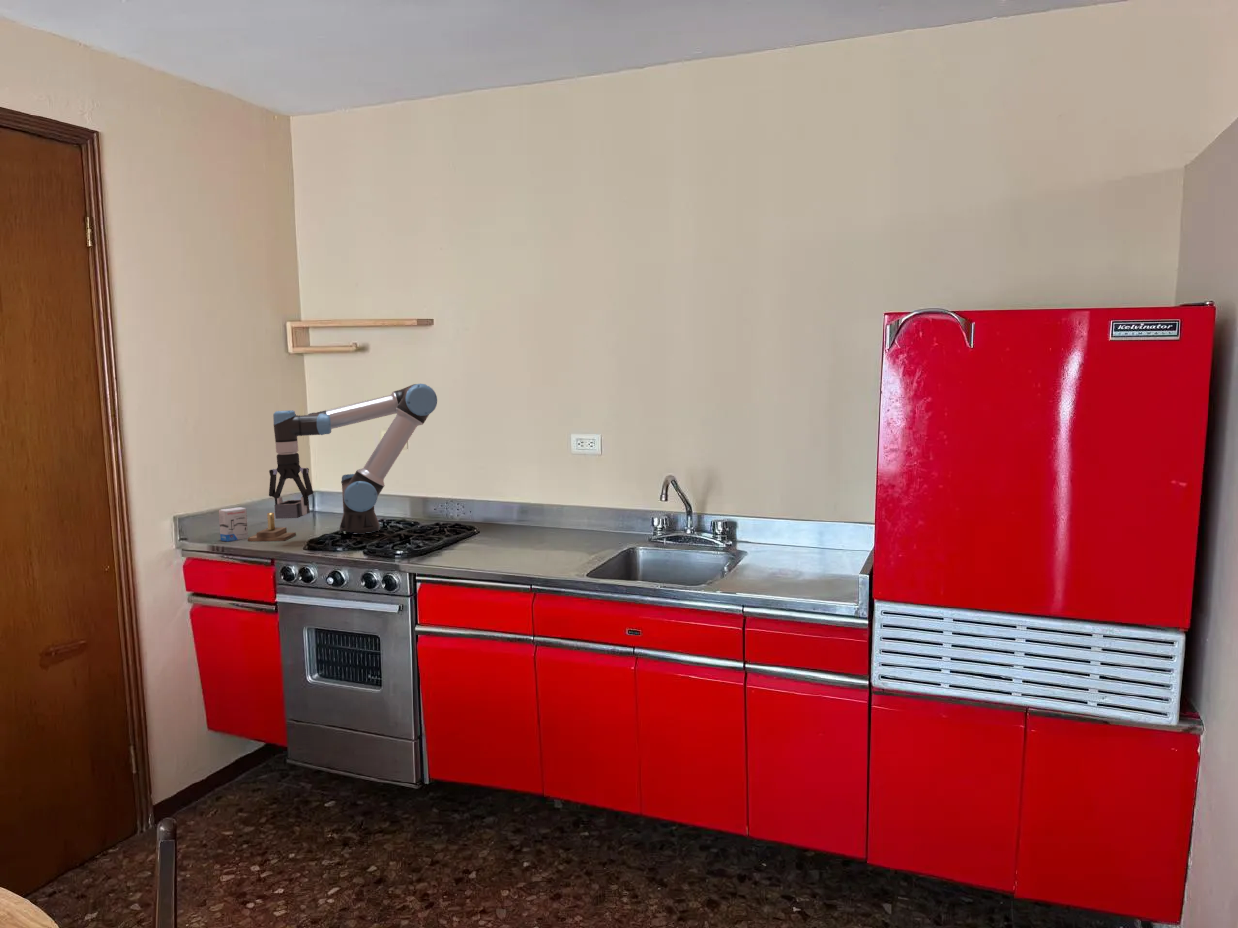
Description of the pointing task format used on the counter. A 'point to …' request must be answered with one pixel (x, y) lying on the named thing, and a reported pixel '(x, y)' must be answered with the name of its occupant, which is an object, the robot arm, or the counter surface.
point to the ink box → (233, 524)
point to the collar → (289, 509)
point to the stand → (272, 535)
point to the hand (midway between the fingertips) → (292, 514)
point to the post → (271, 521)
